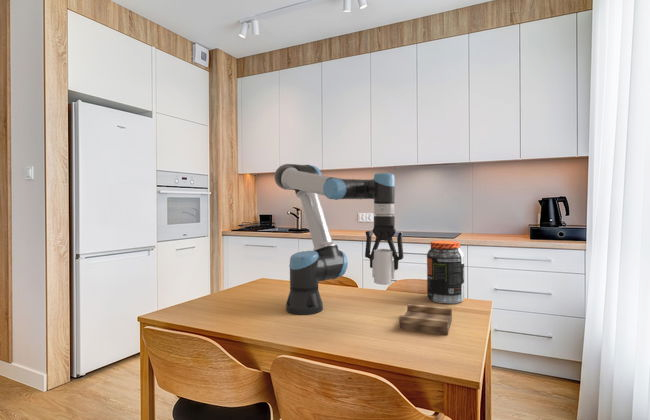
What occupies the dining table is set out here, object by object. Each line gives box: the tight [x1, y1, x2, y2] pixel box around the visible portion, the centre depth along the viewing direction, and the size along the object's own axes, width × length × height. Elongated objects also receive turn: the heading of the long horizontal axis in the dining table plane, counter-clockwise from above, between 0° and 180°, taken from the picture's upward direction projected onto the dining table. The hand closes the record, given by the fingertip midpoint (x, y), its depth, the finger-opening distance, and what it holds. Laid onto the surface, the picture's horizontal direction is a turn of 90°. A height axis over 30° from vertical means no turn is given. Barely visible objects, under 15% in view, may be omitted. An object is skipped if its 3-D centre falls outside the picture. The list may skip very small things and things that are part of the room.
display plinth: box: [398, 303, 453, 336], centre depth 136 cm, size 16×17×4 cm
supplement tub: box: [426, 240, 465, 304], centre depth 168 cm, size 16×16×26 cm
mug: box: [373, 248, 393, 286], centre depth 140 cm, size 10×7×12 cm, turn 141°
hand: (383, 277), depth 141 cm, fingers closed on mug, 6 cm apart
